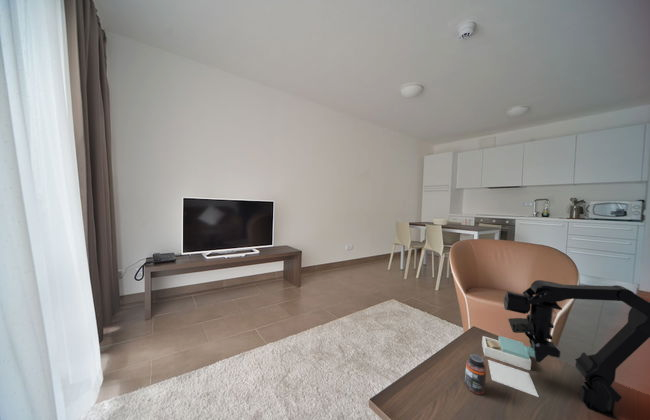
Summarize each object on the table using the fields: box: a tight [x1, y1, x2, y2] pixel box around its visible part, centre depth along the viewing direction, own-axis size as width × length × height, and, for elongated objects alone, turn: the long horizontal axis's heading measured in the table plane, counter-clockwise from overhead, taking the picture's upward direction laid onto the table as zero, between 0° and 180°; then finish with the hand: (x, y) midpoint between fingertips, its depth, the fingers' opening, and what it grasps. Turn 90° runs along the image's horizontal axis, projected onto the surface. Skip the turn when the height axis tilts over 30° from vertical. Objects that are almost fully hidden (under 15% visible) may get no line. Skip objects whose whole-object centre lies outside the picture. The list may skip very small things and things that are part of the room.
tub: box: [481, 335, 532, 371], centre depth 96 cm, size 15×9×4 cm, turn 60°
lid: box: [497, 335, 535, 360], centre depth 84 cm, size 12×9×2 cm
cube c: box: [487, 340, 502, 351], centre depth 98 cm, size 4×4×4 cm
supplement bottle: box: [464, 353, 487, 395], centre depth 79 cm, size 6×6×11 cm
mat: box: [487, 359, 539, 398], centre depth 85 cm, size 13×12×1 cm
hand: (535, 358), depth 81 cm, fingers closed on lid, 3 cm apart
